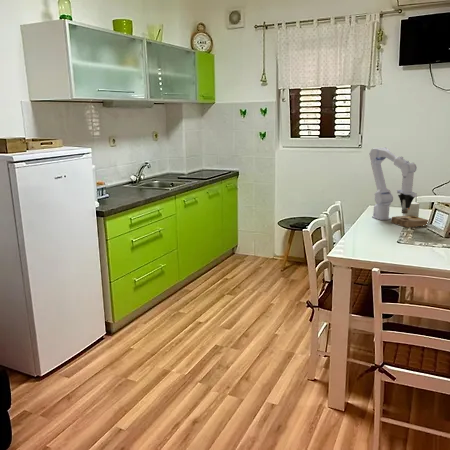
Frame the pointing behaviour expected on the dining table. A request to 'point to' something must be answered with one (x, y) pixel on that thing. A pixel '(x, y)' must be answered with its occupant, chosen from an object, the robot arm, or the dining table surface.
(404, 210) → the pin
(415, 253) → the dining table surface
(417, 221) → the board
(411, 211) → the small box
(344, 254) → the dining table surface
